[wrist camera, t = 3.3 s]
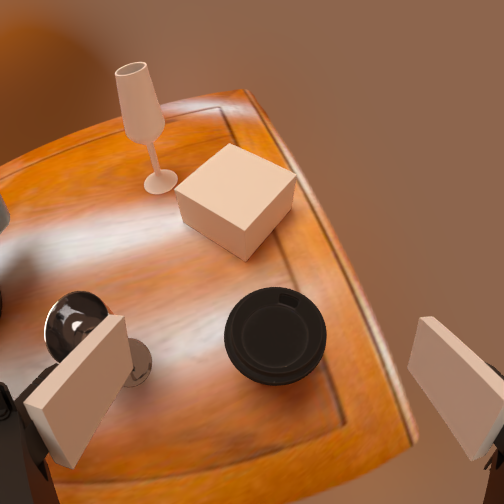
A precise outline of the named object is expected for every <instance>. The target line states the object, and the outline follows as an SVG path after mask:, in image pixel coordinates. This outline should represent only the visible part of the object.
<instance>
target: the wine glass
mask: <svg viewBox="0 0 504 504" xmlns="http://www.w3.org/2000/svg"><path fill="white" fill-rule="evenodd" d="M108 315H114V314H113V312H112V311H111V310H110V309H109V307H108V306H107V305H106V304H105V303H104V302H103V301H102V300H101V299H100V298H99V297H97V296H96V295H94V294H92V293H90V292H86V291H76V292H72V293H69V294H67V295H65V296H63V297H62V298H61V299H59V300H58V301H57V302H56V303H55V305H54V306H53V307H52V309H51V310H50V312H49V314H48V316H47V320H46V323H45V330H44V336H45V343H46V346H47V349H48V351H49V353H50V354H51V356H52V357H53V358H54V359H55V360H56V361H57V362H59V363H61V362H62V361H63V360H64V359H65V358H66V357H67V356H68V355H69V354H70V353H71V352H72V351H73V350H74V349H75V348H76V347H77V346H78V345H79V344H80V343H81V342H82V341H83V340H84V339H85V338H86V337H87V336H88V335H89V334H90V333H91V332H92V331H93V330H94V329H95V328H96V327H97V326H98V325H99V324H100V323H101V322H102V321H103V320H104V319H105V318H106V317H107V316H108ZM128 342H129V347H130V353H131V358H132V363H133V370H132V371H131V373H130V375H129V376H128V378H127V379H126V381H125V383H124V384H123V386H124V387H134V386H137V385H139V384H141V383H142V382H143V381H145V379H146V378H147V377H148V375H149V374H150V371H151V367H152V357H151V354H150V351H149V349H148V348H147V347H146V345H144V344H143V343H142V342H141V341H139V340H136V339H133V338H128Z"/></svg>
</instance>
